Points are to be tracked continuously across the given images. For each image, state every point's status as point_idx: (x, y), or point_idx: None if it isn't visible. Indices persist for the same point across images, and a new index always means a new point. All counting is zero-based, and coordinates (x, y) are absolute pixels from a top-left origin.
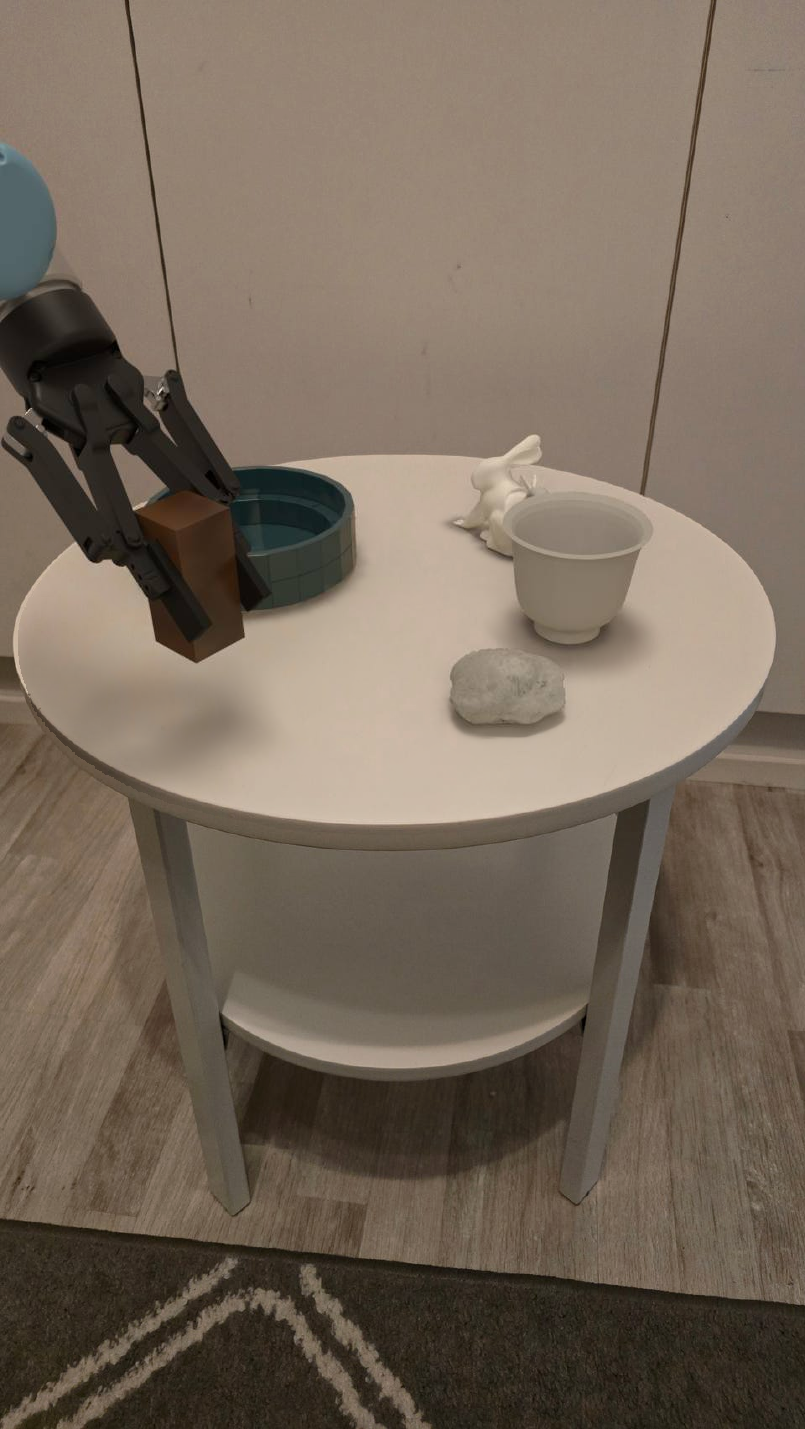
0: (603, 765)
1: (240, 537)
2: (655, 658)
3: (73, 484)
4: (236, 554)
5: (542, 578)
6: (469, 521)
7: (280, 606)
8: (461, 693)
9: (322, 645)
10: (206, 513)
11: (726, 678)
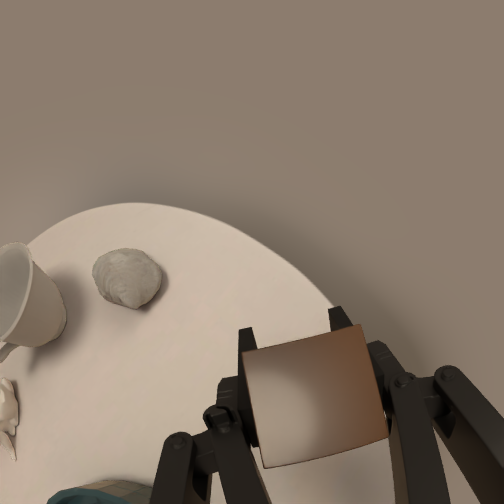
0: (141, 215)
1: (224, 392)
2: (54, 265)
3: (496, 440)
4: None
5: (42, 291)
6: (9, 444)
7: None
8: (151, 278)
9: (168, 434)
10: (286, 355)
11: (55, 233)
